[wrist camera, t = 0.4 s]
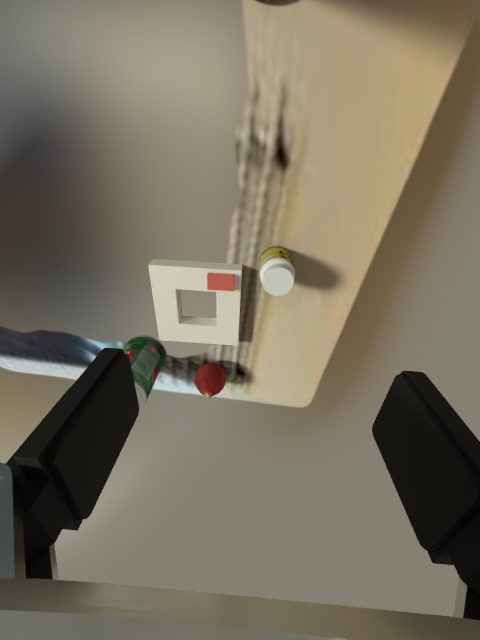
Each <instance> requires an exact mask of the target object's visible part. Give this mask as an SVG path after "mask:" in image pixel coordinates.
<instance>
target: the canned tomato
mask: <svg viewBox="0 0 480 640" xmlns="http://www.w3.org/2000/svg"><path fill="white" fill-rule="evenodd" d="M123 351H124V353H126V354H128V355H129V358H130V363H131V368H132V373H133V378H134V383H135V388H136V393H137V398H138V403H139V408H141V407H143V406H144V404H145V403H146V401H147V398H148V396H149V394H150V391H151V389H152V387H153V385H154V383H155V381H156V378H157V376H158V374H159V372H160V369H161V367H162V365H163V363H164V361H165V359H166V351H165V348H164V346H163V345H162V344H161V343H160V342H159V341H158V340H156V339H154V338H152V337H149V336H145V335H139V336H135V337H133V338H131V339H130V340H129V341H128V342H127V344H126V345H125V347H124V348H123Z"/></svg>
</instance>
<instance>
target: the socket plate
mask: <svg viewBox="0 0 480 640" xmlns="http://www.w3.org/2000/svg"><path fill="white" fill-rule="evenodd" d="M149 273H150V279H151V286H152V292H153V300H154V306H155V313H156V319H157V327H158V333H159V340H166V341H180V342H195V343H209V344H224V345H238V340H239V323H240V303H241V282H242V265H240V264H223V263H222V264H221V263H206V262H191V261H174V260H157V259H154V260H153V261H152V262H151V263H150V264H149ZM180 289H181V290H196V291H213V292H217V318H201V317H186V316H182V308H181V296H180Z"/></svg>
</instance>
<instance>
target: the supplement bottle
mask: <svg viewBox="0 0 480 640" xmlns="http://www.w3.org/2000/svg"><path fill="white" fill-rule="evenodd" d="M294 278H295V269H294V266H293V263H292V260H291V257H290V254H289V253H288V251H287V250H286V249H284V248H283V247H280V246H272V247H269V248H267V249H266V250H265V251H264V252H263V253H262V255H261V257H260V279H261V282H262V284H263V286H264V288H265V290H266V291H267V292H268V293H269V294H271V295H274V296H282V295H285V294H287V293H288V292H289V291H290V290H291V289H292V288H293V285H294Z"/></svg>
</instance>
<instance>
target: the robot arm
mask: <svg viewBox="0 0 480 640" xmlns="http://www.w3.org/2000/svg"><path fill="white" fill-rule="evenodd" d="M267 1H269V0H267ZM138 412H139V403H138V398H137V393H136V388H135V383H134V378H133V373H132V368H131V363H130V358H129V355H128V354H126V353H124V351H123V349H115V348H104V349H103V350H102V351H101V352H100V353H99V354H98V356H97V357H96V358H95V359H94V360H93V362H92V363H91V364H90V365H89V366H88V368H87V369H86V370H85V371H84V372H83V374H82V375H81V376H80V377H79V378H78V379H77V381H76V382H75V383H74V384H73V386H71V387H70V388H69V389H68V391H67V392H66V393H65V394H64V395H63V396H62V398H61V399H60V400H59V401H58V402H57V403H56V405H55V406H54V407H53V408H52V409H51V411H50V412H49V413H48V414H47V415H46V416H45V418H44V419H43V420H42V421H41V423H40V424H39V425H38V426H37V427H36V429H35V430H34V431H33V432H32V433H31V434H30V435H29V437H28V438H27V439H26V440H25V441H24V443H23V444H22V445H21V446H20V447H19V449H18V450H17V451H16V452H15V453H14V455H13V456H12V457H11V458H10V459H9V460H8V462H7V463H6V464H5V463H0V640H480V442H479V440H478V439H477V438H476V437H475V435H474V434H473V433H472V432H471V430H470V429H469V428H468V427H467V425H466V424H465V423H464V422H463V420H462V419H461V418H460V417H459V416H458V414H457V413H456V412H455V411H454V409H453V408H452V407H451V405H450V404H449V403H448V402H447V400H446V399H445V398H444V397H443V396H442V394H441V393H440V392H439V391H438V389H437V388H436V387H435V386H434V384H433V383H432V382H431V381H430V379H429V378H428V377H427V376H426V375H425V374H424V373H422V372H414V371H403V372H401V374H400V375H397V376H396V377H395V379H394V381H393V383H392V385H391V387H390V389H389V392H388V394H387V396H386V398H385V400H384V402H383V404H382V407H381V409H380V411H379V413H378V415H377V417H376V419H375V422H374V424H373V426H372V432H373V436H374V439H375V441H376V443H377V446H378V448H379V450H380V452H381V455H382V457H383V459H384V462H385V464H386V467H387V469H388V471H389V473H390V476H391V478H392V480H393V483H394V485H395V488H396V490H397V492H398V494H399V497H400V499H401V502H402V504H403V506H404V508H405V511H406V513H407V515H408V518H409V520H410V523H411V525H412V527H413V529H414V532H415V534H416V537H417V539H418V541H419V543H420V545H421V546H422V547H423V548H424V549H425V550H427V551H428V553H429V556H430V558H431V561H432V562H433V563H437V564H447V565H453V564H454V566H455V568H456V570H457V572H458V574H459V583H458V589H457V596H456V602H455V608H454V615H453V617H449V616H438V615H429V614H418V613H409V612H399V611H390V610H379V609H370V608H359V607H350V606H340V605H330V604H320V603H309V602H298V601H289V600H279V599H268V598H258V597H247V596H237V595H226V594H216V593H205V592H194V591H183V590H172V589H161V588H149V587H139V586H128V585H117V584H107V583H91V582H78V581H63V580H59V579H58V570H57V563H56V555H55V548H54V547H55V546H54V543H55V541H56V540H57V538H58V536H59V534H60V532H61V530H62V529H69V530H78V528H79V526H80V524H81V522H82V520H83V519H86V518H88V517H89V515H90V514H91V513H92V511H93V509H94V507H95V504H96V502H97V500H98V498H99V496H100V494H101V492H102V490H103V488H104V485H105V483H106V481H107V479H108V477H109V475H110V473H111V471H112V468H113V467H114V465H115V462H116V460H117V458H118V456H119V454H120V452H121V450H122V448H123V446H124V444H125V441H126V439H127V437H128V435H129V433H130V431H131V429H132V427H133V425H134V423H135V420H136V418H137V416H138Z"/></svg>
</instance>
